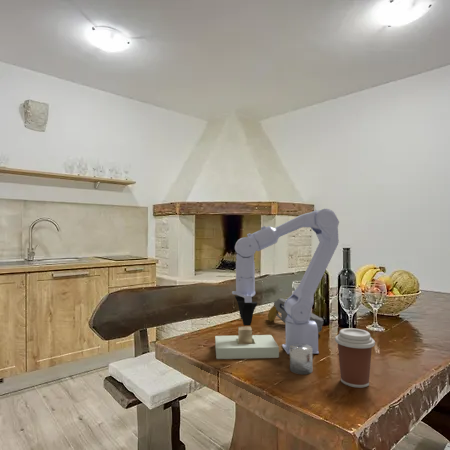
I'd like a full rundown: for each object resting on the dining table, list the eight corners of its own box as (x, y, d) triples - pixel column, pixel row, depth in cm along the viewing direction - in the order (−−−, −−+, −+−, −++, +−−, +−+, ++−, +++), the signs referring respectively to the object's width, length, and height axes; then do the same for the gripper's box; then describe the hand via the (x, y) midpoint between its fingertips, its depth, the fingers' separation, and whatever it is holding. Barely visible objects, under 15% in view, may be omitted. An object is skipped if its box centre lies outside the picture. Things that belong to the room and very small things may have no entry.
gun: (307, 357, 126) (320, 321, 121) (264, 318, 144) (273, 286, 140) (313, 355, 127) (326, 320, 123) (270, 317, 146) (279, 285, 142)
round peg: (308, 365, 96) (308, 343, 96) (315, 374, 90) (315, 350, 90) (287, 366, 96) (287, 343, 96) (292, 374, 90) (292, 351, 90)
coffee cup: (353, 371, 92) (353, 325, 92) (383, 385, 84) (383, 334, 84) (327, 378, 87) (326, 329, 87) (356, 393, 79) (356, 339, 79)
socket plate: (271, 344, 114) (271, 334, 114) (278, 357, 102) (278, 347, 102) (215, 345, 113) (215, 335, 113) (216, 359, 101) (216, 348, 101)
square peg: (250, 349, 109) (250, 326, 109) (252, 353, 105) (252, 329, 105) (238, 349, 109) (238, 326, 109) (239, 353, 105) (239, 330, 105)
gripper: (230, 274, 114) (230, 316, 114) (234, 280, 100) (234, 328, 100) (252, 273, 115) (252, 315, 115) (258, 280, 100) (259, 328, 100)
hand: (245, 321), depth 107 cm, fingers open, 7 cm apart
